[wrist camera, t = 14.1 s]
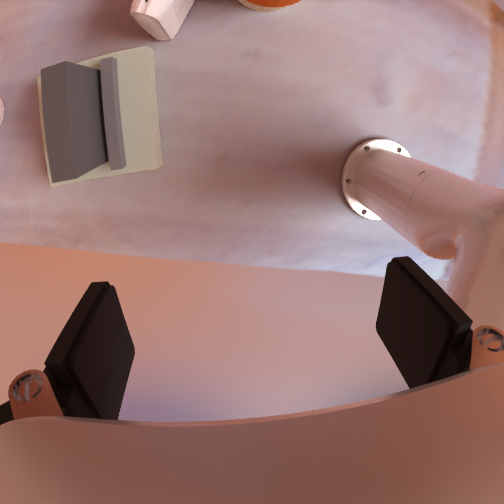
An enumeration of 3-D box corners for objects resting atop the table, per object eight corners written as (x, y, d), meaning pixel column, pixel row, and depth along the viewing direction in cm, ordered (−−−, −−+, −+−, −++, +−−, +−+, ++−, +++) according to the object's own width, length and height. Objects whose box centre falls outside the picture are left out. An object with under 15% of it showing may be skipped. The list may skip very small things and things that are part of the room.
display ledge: (154, 50, 33) (143, 42, 28) (163, 163, 40) (154, 172, 35) (50, 77, 32) (29, 75, 27) (62, 180, 39) (43, 191, 34)
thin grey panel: (100, 70, 30) (65, 61, 21) (108, 161, 35) (76, 178, 26) (78, 76, 30) (38, 70, 21) (86, 165, 35) (49, 183, 26)
